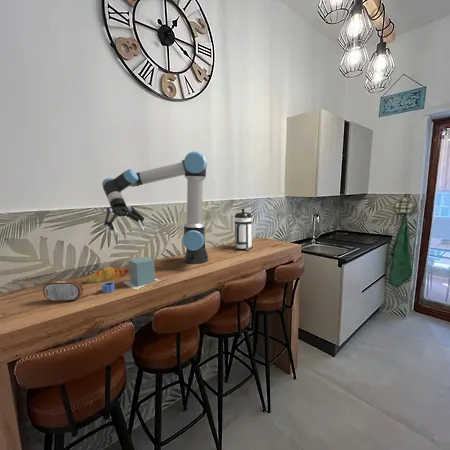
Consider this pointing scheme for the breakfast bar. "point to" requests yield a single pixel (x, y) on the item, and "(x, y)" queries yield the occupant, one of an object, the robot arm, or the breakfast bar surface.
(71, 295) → the tin
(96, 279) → the croissant
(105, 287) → the blue hex nut
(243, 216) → the coffee press
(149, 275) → the grey-blue rectangular block
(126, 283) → the mat
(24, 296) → the breakfast bar surface
